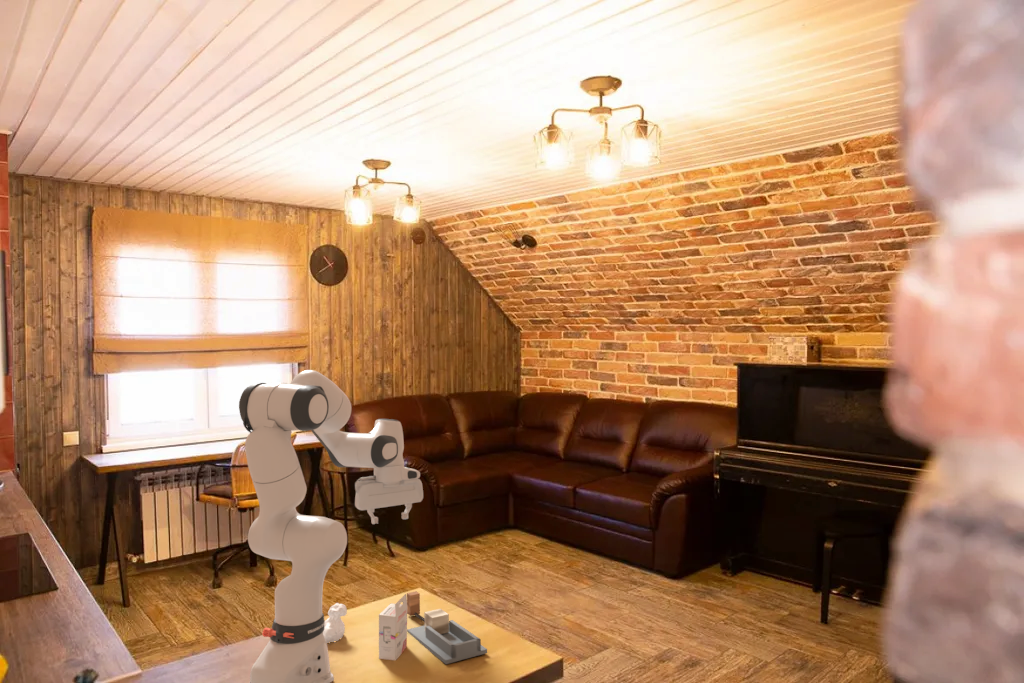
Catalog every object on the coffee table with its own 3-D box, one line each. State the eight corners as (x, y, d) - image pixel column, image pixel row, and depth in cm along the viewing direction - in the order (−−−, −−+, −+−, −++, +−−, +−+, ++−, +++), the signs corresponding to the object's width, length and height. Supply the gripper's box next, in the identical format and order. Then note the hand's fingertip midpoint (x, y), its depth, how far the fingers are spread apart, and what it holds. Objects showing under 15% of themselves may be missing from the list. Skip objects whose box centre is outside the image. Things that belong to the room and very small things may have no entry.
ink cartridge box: (389, 646, 198) (390, 591, 198) (407, 648, 197) (408, 593, 197) (377, 659, 190) (378, 602, 190) (395, 662, 189) (396, 604, 189)
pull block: (448, 632, 204) (448, 610, 204) (432, 636, 201) (432, 613, 201) (419, 611, 220) (419, 590, 220) (404, 614, 218) (403, 593, 218)
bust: (328, 658, 197) (355, 625, 197) (306, 641, 196) (333, 607, 197) (336, 639, 209) (361, 608, 209) (314, 623, 208) (340, 591, 209)
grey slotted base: (487, 652, 193) (486, 637, 193) (445, 664, 187) (445, 648, 187) (445, 623, 214) (445, 609, 214) (407, 633, 207) (406, 618, 207)
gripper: (358, 479, 208) (359, 528, 208) (425, 471, 219) (426, 518, 219) (351, 476, 214) (352, 524, 214) (416, 468, 224) (417, 514, 224)
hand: (390, 521), depth 216 cm, fingers open, 8 cm apart
